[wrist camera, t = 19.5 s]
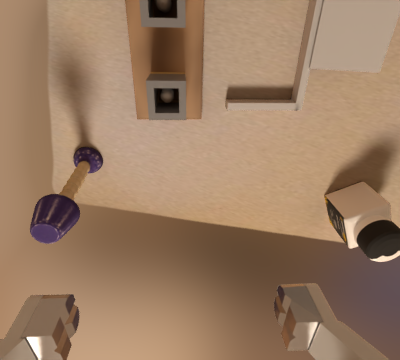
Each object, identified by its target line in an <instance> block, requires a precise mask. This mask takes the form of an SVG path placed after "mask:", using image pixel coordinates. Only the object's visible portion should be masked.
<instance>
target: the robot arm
mask: <svg viewBox="0 0 400 360" xmlns="http://www.w3.org/2000/svg"><path fill="white" fill-rule="evenodd" d="M277 292H278V296H277V297H275V301H274V311H275V316H276V319H277V322H278V323H279V324H280V325H281V326H282V327H283V328H282V332H281V335H282V338H283V340H284V344H285V347H286V350H287V351H296V350H309V353H310V354H311V355H312V356H313V357H314V358H315V359H316V360H389V359H388V358H387V357H385V356H384V355H383V354H381V353H380V352H379V351H378V350H377V349H375V348H374V347H373V346H372V345H370V344H369V343H368V342H367V341H365V340H364V339H363V338H361V337H360V336H359V335H358V334H357V333H355V332H354V331H353V330H352V329H350V328H349V327H348V326H347V325H345V324H344V323H343V322H340V321H337V319H336V317H335V315H334V314H333V312H332V310H331V308H330V306H329V304H328V302H327V301H326V299H325V297H324V295H323V293H322V291H321V290H320V288H319V286H318V285H317V284H315V283H311V284H288V285H279V286H278V288H277ZM74 302H75V298H74V295H73V294H68V295H67V294H66V295H31V296H30V297H29V298H28V299H27V300H26V301H25V303H24V305H23V307H22V309H21V310H20V312H19V314H18V316H17V317H16V319H15V321H14V323H13V324H12V326H11V328H10V330H9V331H8V333H7V335H6V337H5V339H0V360H67V357H68V354H69V351H70V348H71V342H70V338H71V337H72V336H73V335H74V334H75V333H76V330H77V327H78V323H79V309H78V307H77V306H75V305H74Z"/></svg>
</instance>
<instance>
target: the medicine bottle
mask: <svg viewBox="0 0 400 360" xmlns="http://www.w3.org/2000/svg"><path fill="white" fill-rule="evenodd" d="M324 197H325V202H326V206H327V211H328V216H329V220H330V223H331V225H332V226H333V227H334V229H335V230H336V231H337V233H338V234H339V235H340V236H341V238H342V239H343V240H344V242H345V243H346V244H347V246H348V247H349V248H354V247H357V246H359V247H360V248H361V249H362V250H363V252H364V253H365V254H366V256H367V257H368V258H369V259H371V260H374V261H379V262H383V261H388V260H391V259H393V258H395V257H397V256H399V255H400V228H399V227H397V226H396V225H395V224H394V223H393V222H392V221H391V205H390V203H389V202H387V201H386V200H385V199H384V198H383V197H382V196H380V195H379V194H378V193H377V192H376V191H375V190H373V189H372V188H371V187H370V186H369V185H367V184H366V183H365V182H360V183H357V184H354V185H351V186H349V187H346V188H343V189H340V190H338V191H335V192H332V193H329V194H327V195H325V196H324Z"/></svg>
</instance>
